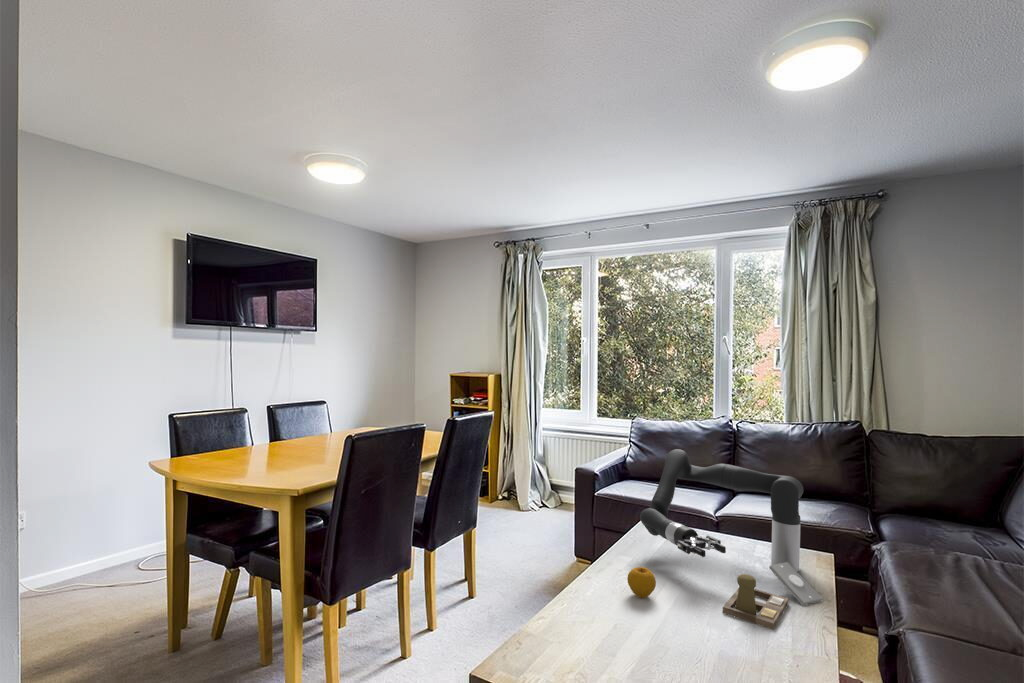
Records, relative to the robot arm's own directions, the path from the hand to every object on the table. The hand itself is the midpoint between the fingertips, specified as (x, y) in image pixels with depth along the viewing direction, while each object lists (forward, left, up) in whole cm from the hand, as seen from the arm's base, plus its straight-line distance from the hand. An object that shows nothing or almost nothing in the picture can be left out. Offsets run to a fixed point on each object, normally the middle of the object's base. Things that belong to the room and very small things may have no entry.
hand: (714, 552), depth 169 cm
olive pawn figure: (+7, +12, -13) cm, 19 cm away
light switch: (-17, +21, -13) cm, 30 cm away
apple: (+19, -17, -13) cm, 28 cm away
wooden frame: (+2, +13, -13) cm, 19 cm away
